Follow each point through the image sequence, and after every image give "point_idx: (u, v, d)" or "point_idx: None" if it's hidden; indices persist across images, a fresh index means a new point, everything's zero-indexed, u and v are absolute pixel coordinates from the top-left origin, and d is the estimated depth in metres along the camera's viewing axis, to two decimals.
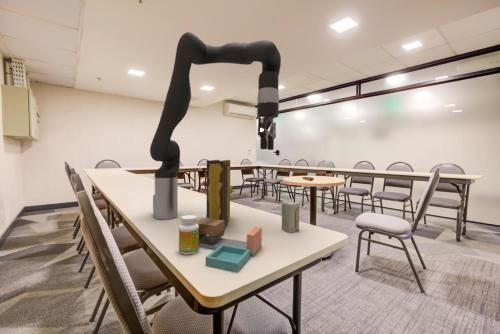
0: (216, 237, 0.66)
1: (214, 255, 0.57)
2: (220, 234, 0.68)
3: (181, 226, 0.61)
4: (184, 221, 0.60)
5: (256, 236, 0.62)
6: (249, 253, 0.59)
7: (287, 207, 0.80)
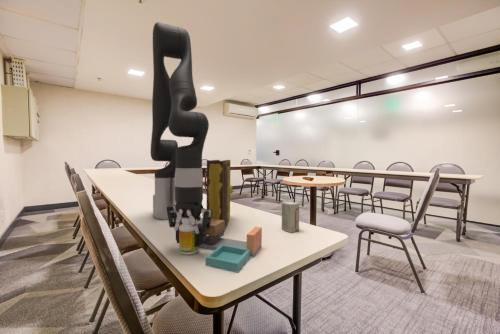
0: (216, 237, 0.66)
1: (214, 255, 0.57)
2: (220, 234, 0.68)
3: (181, 226, 0.61)
4: (184, 221, 0.60)
5: (256, 236, 0.62)
6: (249, 253, 0.59)
7: (287, 207, 0.80)
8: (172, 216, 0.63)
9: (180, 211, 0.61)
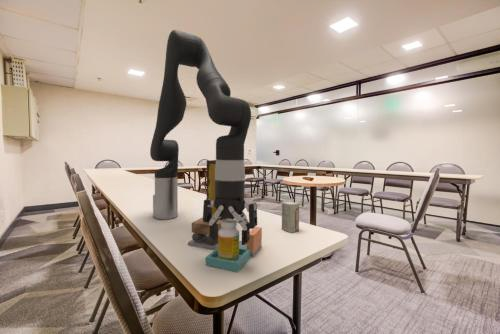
0: None
1: (214, 255, 0.57)
2: None
3: (221, 231, 0.55)
4: (225, 226, 0.55)
5: (256, 236, 0.62)
6: (249, 253, 0.59)
7: (287, 207, 0.80)
8: (208, 211, 0.58)
9: (220, 207, 0.55)
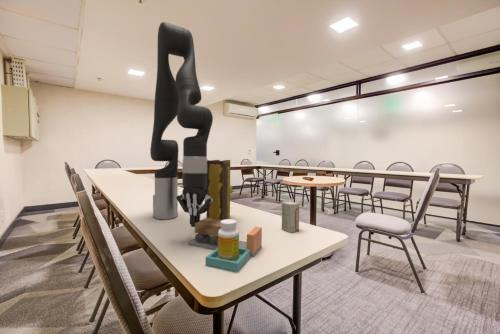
0: None
1: (214, 255, 0.57)
2: None
3: (221, 232, 0.55)
4: (225, 226, 0.55)
5: (256, 236, 0.62)
6: (249, 253, 0.59)
7: (287, 207, 0.79)
8: (184, 202, 0.70)
9: (187, 195, 0.68)
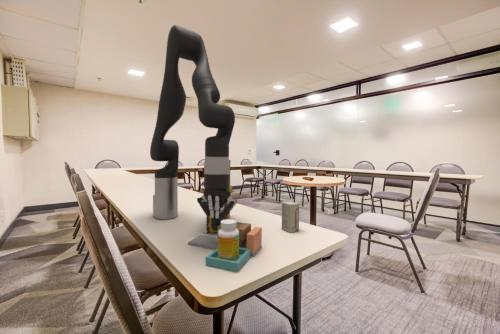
0: (244, 241, 0.62)
1: (214, 255, 0.57)
2: None
3: (221, 232, 0.55)
4: (225, 226, 0.55)
5: (256, 236, 0.62)
6: (249, 253, 0.59)
7: (287, 207, 0.79)
8: (205, 205, 0.67)
9: (209, 197, 0.65)
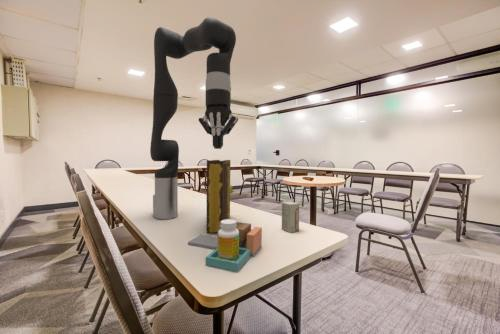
0: (244, 241, 0.62)
1: (214, 255, 0.57)
2: None
3: (221, 232, 0.55)
4: (225, 226, 0.55)
5: (256, 236, 0.62)
6: (249, 253, 0.59)
7: (287, 207, 0.80)
8: (206, 124, 0.68)
9: (210, 114, 0.66)
